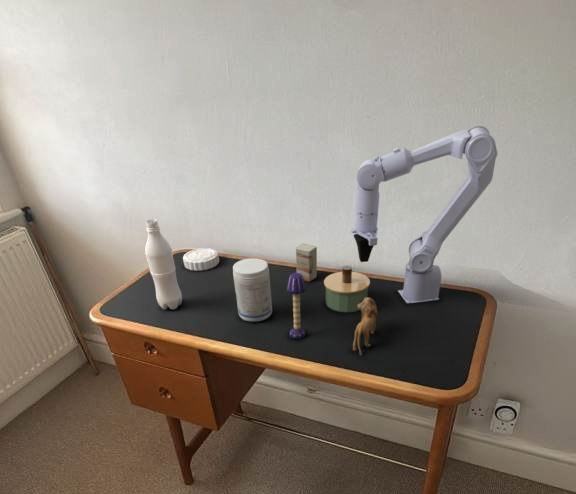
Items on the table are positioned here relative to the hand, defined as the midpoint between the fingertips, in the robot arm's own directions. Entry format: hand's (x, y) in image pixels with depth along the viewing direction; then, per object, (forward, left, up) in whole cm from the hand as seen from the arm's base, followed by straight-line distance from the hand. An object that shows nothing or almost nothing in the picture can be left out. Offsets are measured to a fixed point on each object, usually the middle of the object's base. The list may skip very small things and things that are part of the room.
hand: (363, 260), depth 129 cm
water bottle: (+56, -7, -11) cm, 57 cm away
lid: (+6, +4, -4) cm, 8 cm away
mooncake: (+47, -35, -11) cm, 59 cm away
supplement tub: (+32, +4, -11) cm, 34 cm away
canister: (+6, +4, -10) cm, 13 cm away
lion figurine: (+6, +23, -11) cm, 26 cm away
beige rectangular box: (+14, -15, -11) cm, 23 cm away
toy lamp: (+22, +17, -11) cm, 30 cm away
